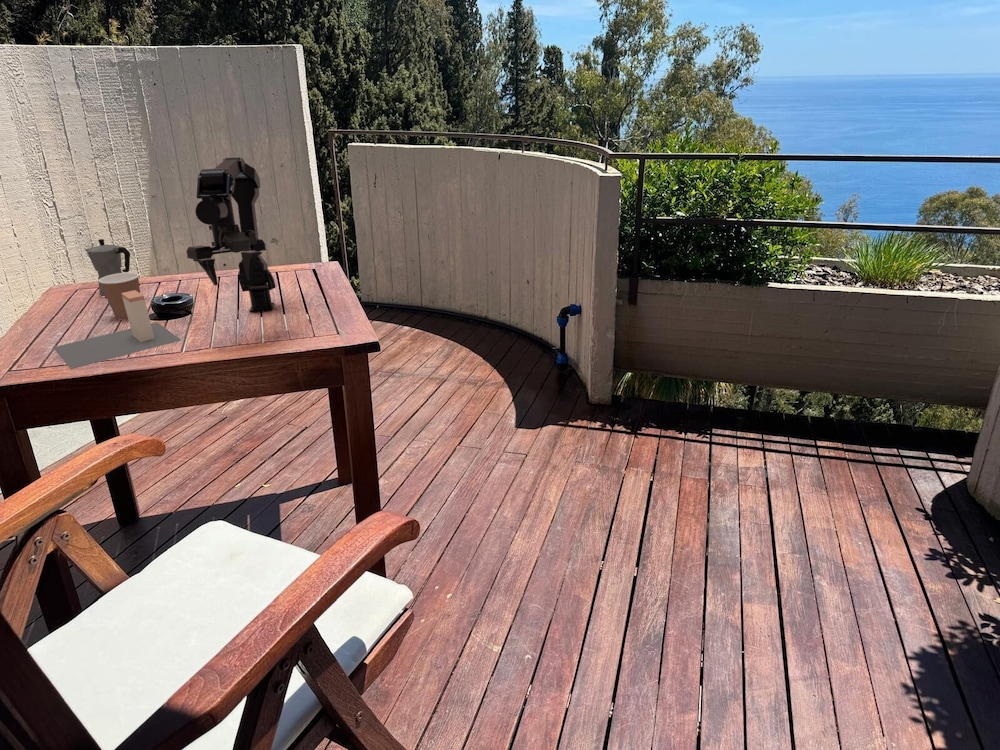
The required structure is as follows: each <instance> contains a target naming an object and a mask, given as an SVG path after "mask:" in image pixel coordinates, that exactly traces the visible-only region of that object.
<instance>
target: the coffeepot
mask: <svg viewBox="0 0 1000 750" xmlns="http://www.w3.org/2000/svg"><path fill="white" fill-rule="evenodd" d="M97 241H98V243H99V245H96V246H93V247H88V248H86V249H84V251H85V252H86V253H87V255H88V257H89V260H90V261H91V263H92V266H93V269H94V270H95V272H97V275H98V276H97V277H98V278H97V279H98V290H99V296H100V295H101V296H105V297H106V295H105V292H104V290H103V287H102V285H101V283H100V282H99V279H101V278H103V277H105V276H108V275H112V274H118V273H130V266H131V265H130V264H131V263H130V260H131V253H130V251H129V249H127V248H126V247H125V246H120V245H115V244H105V239H101V238H100V239H98V240H97ZM122 254H123V255H124V267H125V269H124V268H123V269H122V266H123V265H122ZM101 296H100V297H101Z"/></svg>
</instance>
